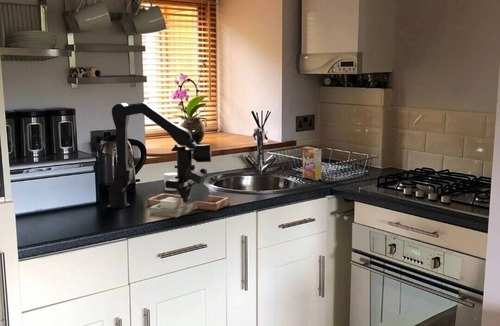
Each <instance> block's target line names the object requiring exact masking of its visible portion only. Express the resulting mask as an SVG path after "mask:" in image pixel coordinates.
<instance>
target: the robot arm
mask: <svg viewBox="0 0 500 326" xmlns="http://www.w3.org/2000/svg"><path fill="white" fill-rule="evenodd" d="M140 114H141V115H143V116H145V117H146V118H148V119H149V120H150V121H152V122H153V123H155V124H156V125H157V126H159V128H161V129H163V130H164V131H165V132H167V134H168V135H169V136H170V137H171V138H172V140H173V141H174V142H175V143H176V144H174V145H173V147H172V148H171V152H176V164H175V165H174V169H176V173H177V176H175V179H170V180H167V181H166V182H164V189H165V188H171V189H177V190H176V191H177V192H178V193H179V194H178V195H180V196H181V198H182V199H183V203H187V202H188V201H189V199H190V193H191V191H192V188H193V187H194V186H196V185H197V184H198V185H199V184H202V183H204V182H205V180H206V178H208V170H207V169H206V168H204V167H202V168H201V169H197V168H196V166H195V164H194V163H193V160H194V161H195V162H196V163H212V149H211V144H210V143H209V144H207V143H206V144H197V142H196V141H195V140H194V138H193V136H192V135H193V134H192V133H191V131H190V130H189V129H187V128H185V127H183V126H181V125H178V124H176V123H174V122H172V121H171V120H170V119H168V118H167V117H166V116H164V115H163V114H162V113H160V112H159V111H158V110H157V109H155V108H153V107H152V106H151V105H150V104H149V103H148V102H146V101H142V102H139V103H137V102H136V103H130V104H128V103H126V102H120V103H116V104H114V105H113V107H112V108H111V116H112V117H111V118H112V121H113V124H114V126H115V148H116V149H115V151H116V152H115V154H116V157H115V158H116V166H115V169H114V173H113V181H112V183H111V184H110V185H109V186H108V187H107V192H108V194H109V204H108V205H106V208H110V209H116V210H117V209H118V210H121V209H124V208H127V207H129V206H131V204H130V203H128V195H127V187H128V186H129V184H131V182H132V180H133V178H134V175H133V170H134V168H133V167H130V166H129V159H128V158H129V157H128V156H129V155H128V153H129V152H128V124H129V121H130V116H133V115H140ZM188 198H189V199H188Z"/></svg>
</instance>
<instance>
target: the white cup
mask: <svg viewBox="0 0 500 326" xmlns="http://www.w3.org/2000/svg"><path fill="white" fill-rule="evenodd" d="M175 176H177V171H176V172H175V171H174V172H173V171H171V172H165V173H163V181H164V183H165V182H166V181H167V180H170V179H175ZM164 190H165V191H171V192H172V191H178V190H177V189H171V188H165V187H164Z"/></svg>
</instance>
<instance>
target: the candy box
mask: <svg viewBox="0 0 500 326" xmlns="http://www.w3.org/2000/svg"><path fill="white" fill-rule="evenodd" d="M303 177H305V178H310V179H319V178H321V179H322V148H316V147H312V146H304V147H302V178H303Z"/></svg>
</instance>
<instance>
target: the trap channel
mask: <svg viewBox="0 0 500 326" xmlns="http://www.w3.org/2000/svg"><path fill="white" fill-rule="evenodd" d="M168 197H174V198H181V196H180V194H171V193H164V192H163V193H160V194H158V195H156V196H153V197H150V198H148V199H146V202H147V206H149V215H155V216H162V217H163V216H164V217H169V216H170V217H171V218H179V217H182V216H183V215H186V214H189V212H192V211H194V210H196V209H202V210H209V211H218V210H219V209H222V208H223V207H226V206H228V205H230V197H228V196H227V197H226V196H216V195H211V194H209V195H207V201H201V200H200V201H199V200H196V201H195V200H194V201H193V202H191V203H188V204H186V205H183V207H181V208H179V209H176V210H173V209H165V208H160V200H163V199H165V198H168ZM188 200H190V197H189V198H188ZM170 217H169V218H170Z"/></svg>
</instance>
